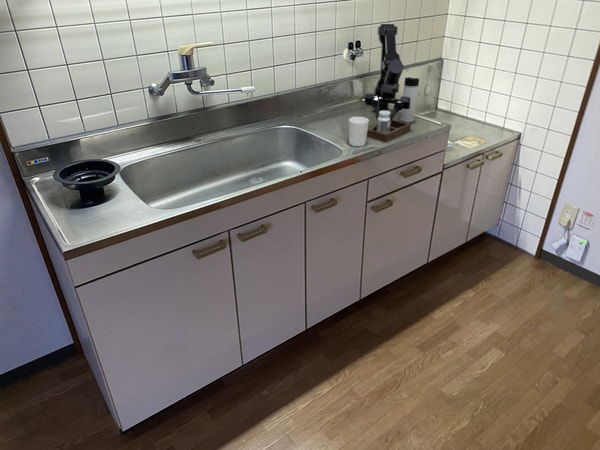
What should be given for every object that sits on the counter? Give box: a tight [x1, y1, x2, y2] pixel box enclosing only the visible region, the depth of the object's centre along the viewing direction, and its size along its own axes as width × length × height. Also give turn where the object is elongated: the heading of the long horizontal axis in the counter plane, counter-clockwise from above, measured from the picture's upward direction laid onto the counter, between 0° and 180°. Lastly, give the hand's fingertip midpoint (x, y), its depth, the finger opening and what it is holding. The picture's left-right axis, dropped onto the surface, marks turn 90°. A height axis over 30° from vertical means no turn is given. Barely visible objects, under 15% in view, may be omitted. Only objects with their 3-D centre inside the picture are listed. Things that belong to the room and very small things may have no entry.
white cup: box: [348, 116, 370, 147], centre depth 187 cm, size 8×8×10 cm
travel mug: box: [399, 77, 420, 124], centre depth 207 cm, size 6×7×20 cm
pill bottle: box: [376, 110, 391, 134], centre depth 194 cm, size 6×6×10 cm
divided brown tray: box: [366, 118, 412, 143], centre depth 199 cm, size 19×10×3 cm, turn 136°
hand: (383, 119), depth 192 cm, fingers closed on pill bottle, 5 cm apart
